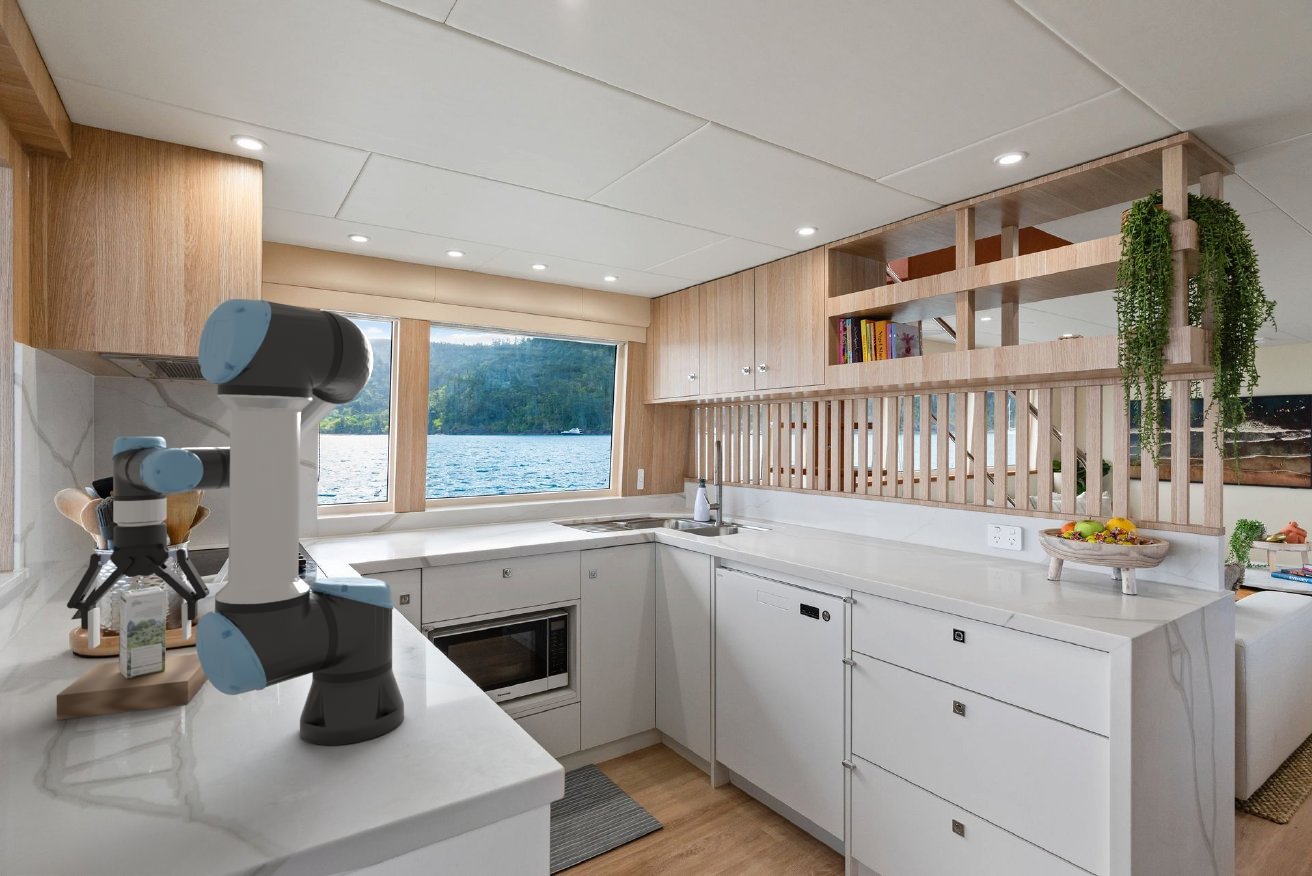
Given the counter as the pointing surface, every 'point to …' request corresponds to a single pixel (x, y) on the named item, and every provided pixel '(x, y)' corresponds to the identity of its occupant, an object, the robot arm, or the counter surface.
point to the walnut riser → (131, 689)
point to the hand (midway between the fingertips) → (141, 642)
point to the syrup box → (142, 632)
